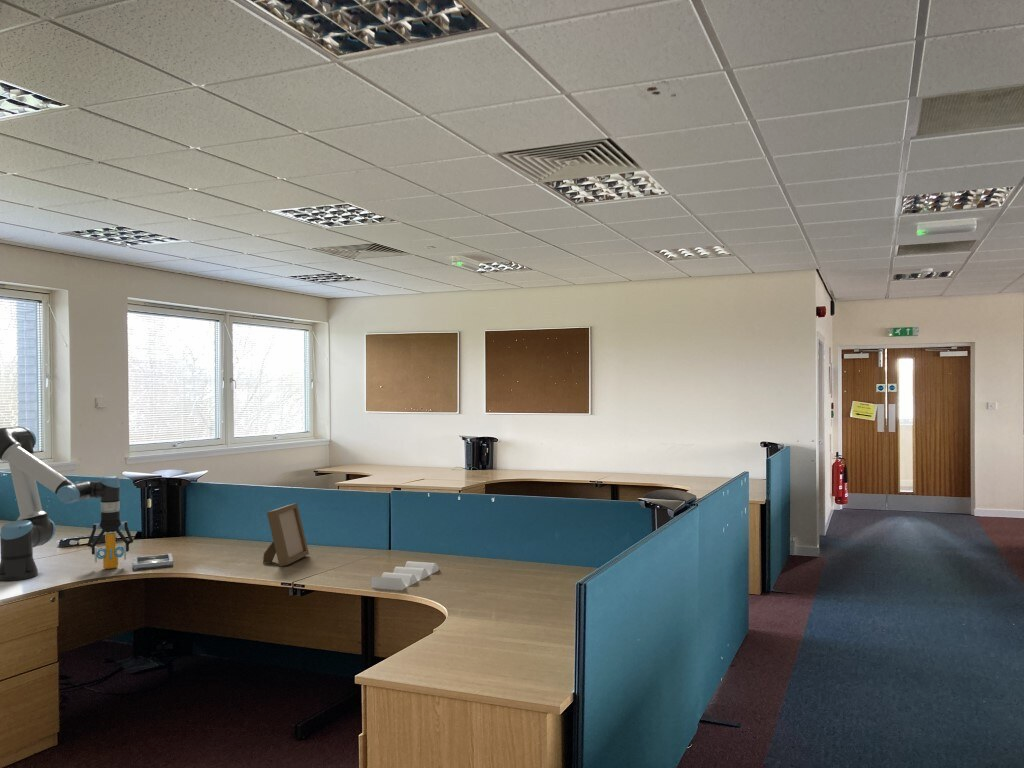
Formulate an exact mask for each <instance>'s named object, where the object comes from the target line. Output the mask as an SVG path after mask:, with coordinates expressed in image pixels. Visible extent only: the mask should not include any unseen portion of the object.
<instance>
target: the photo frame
mask: <svg viewBox="0 0 1024 768" xmlns="http://www.w3.org/2000/svg"><path fill="white" fill-rule="evenodd" d="M266 515H267V516H266V517H267V519H268V523H269V527H270V533H271V537H272V540H273V541H272V542H271V543H270V545H269V546H268V547H267V549H266V550H265V551H264V553H263V556H262V563H263V564H267V563H273V560H274V558H275V556H276V557H277V563H278V566H279V567H283V566H288V565H291V564H292V563H294V562H296V561H298V560H300V559H302V558H304V557H307V556H308V555H310V553H309V547H308V544H307V543H308V542H307V540H306V536H305V531H304V527H303V522H302V519H301V515H300V509H299V505H298V503H297V502H295V503H292V504H291V503H290V504H287V505H285V506H282V507H279V508H275V509H273V510H270V511H267V512H266Z"/></svg>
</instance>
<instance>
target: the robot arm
mask: <svg viewBox="0 0 1024 768" xmlns="http://www.w3.org/2000/svg"><path fill="white" fill-rule="evenodd" d="M36 444H37V436H36V434H35V433H34V431H32V429H30V428H28V427H26V426H19V425H18V426H9V427H0V460H1V461H2V462H4V463H5V462H7V463H8V464H9V465H8V466H9V470H10V475H11V478H12V484H13V488H14V492H15V493H14V494H15V497H16V501H17V507H18V512H19V516H18V518H17V519H16V520H14V521H9V522H7V523H4V524H3V525H2V526H1V527H0V582H12V581H14V582H16V581H20V580H21V581H22V580H26V579H31V578H34V577H37V576H38V573H39V572H38V571H39V569H38V567H37V566H38V565H36V562H35V560H34V553H33V552H34V551H33V549H34V548H36V547H38V546H43V545H44V544H45V545H46V544H47V543H48V542H50V541H51V540H52V539H53V537H54V536H55V534H56V529H57V528H56V524H55V522H54V521H53V520H51V518H49V516H48V513H47V512H46V511H45V510H43V506H42V502H41V497H40V495H39V489H38V485H37V483H39V484H41V485H42V486H44V487H45V488H47V489H49V491H51V492H53V493H54V494H55V495H56V498H57V499H58V501H59V502H60V503H62V504H72V503H75V502H78V501H83V500H86V499H100V511H101V512H100V523H93V524H92V531H91V534H90V536H89V539H88V541H87V544H86V546H87V547H90V548H91V554H92V555H94V563H97V562H98V558H97V557H96V553H97V551H98V547H97V546H96V545H97V544H98V543H99V542H100V539H102V537H103V535H104V534H106V533H116V534H117V535H118V536H119V537H120V539H121V540H122V541H123V542H124V544H123V548H124V554H123V560H125V561H127V553H128V552H129V551H130V544H132V543H134V539H133V537H132V534H131V531H130V529H129V527H128V521H127V520H126V521H121V518H120V517H121V515H120V514H121V513H120V509H121V508H120V507H121V506H120V503H121V502H120V487H121V486H120V477H118V476H117V475H109V476H108V475H107V476H105V475H104V476H102V477H100V480H98V481H97V480H94V481H91V480H87V481H86V480H82V481H75V482H73V481H71V480H69V479H68V478H67V477H65V476H64V475H63V474H61V473H59V472H58V471H57V470H55V469H54V468H52V467H50V466H49V465H48V464H46V463H45V462H44V461H42V460H41V459H39V458H37V457H36V456H35V455H34V454H35V451H34V448H35V446H36ZM121 525H122V527H124V530H125V532H126V535H127V537H128V539H127V538H126V536H125V534H123V533H122V531H121V530H120V526H121ZM99 527H100V529H102V530H101V531H100V532H99V534H98V535H97V537H96V538H95V539H94V536H95V533H96V530H98V529H99ZM93 539H94V542H93V543H92V541H93Z"/></svg>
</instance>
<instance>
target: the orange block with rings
mask: <svg viewBox="0 0 1024 768" xmlns="http://www.w3.org/2000/svg"><path fill="white" fill-rule="evenodd" d="M104 534H105V544H104V546H105V547H100V548H98V549H97V553H96V557H97V560H102V567H103V569H107V570H109V569H115V568H118V567H119V558H122V557H124V546H122V545H121V546H116V543H117V541H116V532H108V533H106V532H105V533H104ZM118 551H120V552H121V553H118ZM101 552H103V554H101Z"/></svg>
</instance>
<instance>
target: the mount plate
mask: <svg viewBox="0 0 1024 768" xmlns="http://www.w3.org/2000/svg"><path fill="white" fill-rule="evenodd" d="M170 567H173V568H174V558H173V553H164V554H163V553H161V554H152V555H143V556H133V571H144V570H152V569H162V568H170Z"/></svg>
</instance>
